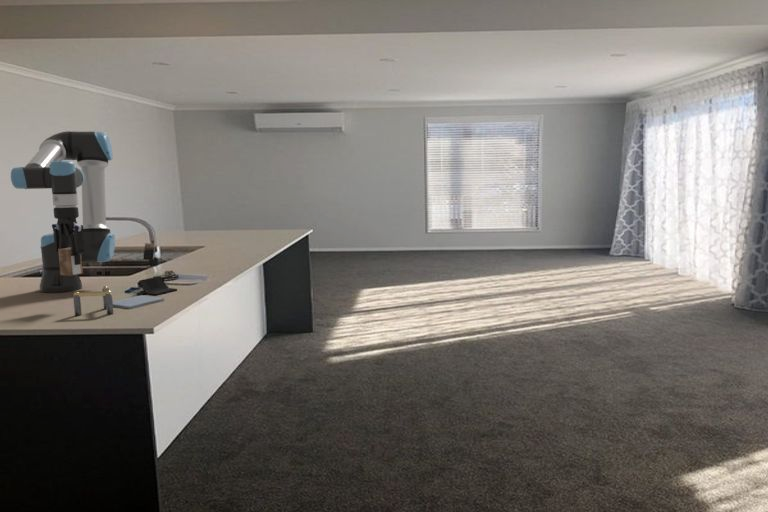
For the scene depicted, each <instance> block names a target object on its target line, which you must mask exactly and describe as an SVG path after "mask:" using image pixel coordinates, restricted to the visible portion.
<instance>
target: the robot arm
mask: <svg viewBox="0 0 768 512" xmlns="http://www.w3.org/2000/svg"><path fill="white" fill-rule="evenodd" d="M37 151H38V152H36V153H35V155H34V156H33V157H32V158H31V160H29V162H28V163H27V164H26V165H25V166H17V167H13V168H12V169H11V172H10V181H11V184H12V186H13V187H14V188H15V189H16V190H17V189H18V190H19V189H20V190H23V189H24V190H35V189H36V190H40V189H41V190H42V189H51V193H52V195H51V196H52V205H53V218H55V220H56V219H57V222H56V223H54V224H53V223H52V224H51V227H52V233H48V234H44V235H42V236H41V237H40V252H41V261H42V263H41V264H42V270H43V271H42V275H41V279H40V283H39V292H40V293H50V294H51V293H53V294H54V293H66V292H72V291H76V290H79V289H82V288H83V282H82V280H81V278H80V276H79V275H81V274H80V273H81V267H80V264H81V261H80V255H81V256H82V264H84V263H103V262H110V261H111V259H112V258H113V256H114V253H115V249H116V248H115V247H116V240H115V239H116V238H115V236H116V235H115V234H114V233H113V232H111V228H110V227H108V225H107V218H106V217H107V216H106V214H107V213H106V210H107V209H106V183H105V181H106V180H105V179H106V178H105V169H106V167H108V166H109V162H110V161H112V160H113V150H112V146H111V140H110V139H109V136H108V134H107V133H106V132H105V131H95V130H93V131H70V130H69V131H68V130H65V131H62V132H58V133H55V134H52V135H51V136H48V137H47V138H45V140H43V141H42V142H41V143H40V145H39V148H38V150H37ZM74 161H76V164H77V165H78V166H79V167H80V168H78V167H76V166H75V163H74ZM79 187H81V200H82V201H81V205H82V206H81V207H82V224H78V221H77V218H79V207H78V205H79V201H78V199H79V198H78V191H77V189H78V188H79ZM70 247H71V250H72V254H71V262H72V274H73V275H72V276H67V275H60V264H59V253H58V249H63V248H70ZM75 251H76V252H75ZM75 274H78V275H75Z"/></svg>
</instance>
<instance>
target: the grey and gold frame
mask: <svg viewBox="0 0 768 512" xmlns="http://www.w3.org/2000/svg"><path fill="white" fill-rule="evenodd" d="M72 297H73V309H74V316H75V317H79V316H82V303H81V301H82V300H81V297H102V301H103V303H102V304H103V310H106V315H107V316H108V315H113V314H114V306H113V302H114V301H113V293H112V291H111V290H110V288H109V287H108V285H105V286H103V287H102V291H85V292H83V291H75V292H74V293H73V295H72Z"/></svg>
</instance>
